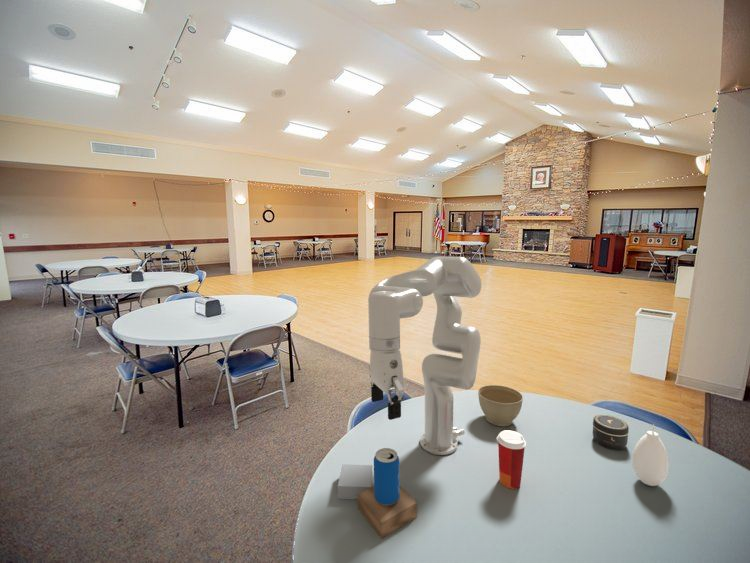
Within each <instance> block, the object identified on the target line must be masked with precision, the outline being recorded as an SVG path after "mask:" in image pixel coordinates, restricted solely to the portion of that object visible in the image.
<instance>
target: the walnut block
mask: <svg viewBox="0 0 750 563" xmlns="http://www.w3.org/2000/svg"><path fill="white" fill-rule="evenodd" d="M399 493H400V496H399V499H398V501H397V502H396V503H394V504H392V505H382V504H380V503H379V502H377V501H376V499H375V497H374V486H373V485H372V487H371V488H369V489H367V490H365V491H363V492H361V493H359V494H357V499H356V500H357V509H358V510H359V512H360V513H361V515H363V517H364V518H365V519H366V521H367V522H368V523H369V525H370V526H371V527H372V528H373V529H374V530H375V532H376V533H377V534H378V536H380V538H381V539H383V538H385V537H387V536H388V535H389V534H391V533H393V532H394V531H396V530H398V529H399V528H401V527H403V526H404V525H406V524H408V523H410V522H411V521H412V520H414V519H416V518H417V517H418V502H417V501H416V500H415V499H414V498H413V496H411V495H410V494H409V493H408V492H407V491H406V490H405V489H404V488H403V487H401V485H399Z"/></svg>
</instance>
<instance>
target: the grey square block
mask: <svg viewBox="0 0 750 563" xmlns="http://www.w3.org/2000/svg"><path fill="white" fill-rule="evenodd" d="M339 473H340V474H339V477H338V483H337V499H342V500H344V499H345V500H357V494H359V493H361V492H363V491H365V490H367V489H369V488H371V487H373V478H374V473H373V465H372V464H342V465H341V469H340V472H339Z"/></svg>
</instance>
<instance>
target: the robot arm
mask: <svg viewBox="0 0 750 563" xmlns="http://www.w3.org/2000/svg"><path fill="white" fill-rule="evenodd" d="M481 290H482V278H481V277H480V275H479V272H478V271H477V270H476V268H475V266H474V265H473V264H472V262H470V260H469V259H467V258H465V257H463V256H434V257H432V258H430V259H428V260H427V261H425V262H424V263H423V264H421V265H420V266H418V267H417V268H416V269H413V270H409V271H406V272H402V273H399V274H398V273H397V274H395V275H391V276H389V277H387V278H385V279H383V280H381V281H380V282H378V283H377V284H375V285H374V286H373V288H372V289H371V290H370V292H369V294H368V299H367V301H368V302H367V303H368V305H367V306H368V344H369V345H368V346H369V347H368V348H369V350H370V354H369V355H370V357H369V358H370V360H369V367H368V368H369V373H370V374H369V377H370V386H371V387H370V392H371V397H370V398H371V402H373V403H375V402H379V401H383V400H384V393H385V394H386V396H387V399H388V402H387V419H388V420H389V421H391V420H394V419H400V418H401V417H402V402H403V399H404V394H405V389H404V386H405V385H404V370H403V368H404V367H403V359H402V358H403V357H402V354H401V350H400V349H401V319H407V318H412V317H416V316H417V315H418V314H420V311H421V310H422V308H423V304H424V299H423V297H428V296H431V295H432V294H433V296H434V299H435V303H436V316H435V321H434V327H433V332H432V336H431V337H432V338H431V339H432V340H431V343H432V346H433V347H434V349H437V350H439V351H442V352H446V353H447V352H448V353H453V354H459V355H462V356H461V357H456V356H452V355H446V354H440V353H431V354H427V355H426V356H425V357H424V358H423V361H422V362H421V372H422V378H423V383H424V384H423V385H424V433H423V434H422V435H421V436H420V440H419V443H420V446H421V447H422V449H423V450H425V451H426V452H427V453H429V454H432V455H439V456H445V455H446V456H447V455H451V454H452V453H454V452H456V451H457V449H458V444H459V443H458V440H457V438H458V436H459V437H460V436H463V435H465V429H464V428H459V429H457V427H456V426H454V394H453V390H452V388H455V389H460V390H465V391H468V390H470V389H472V388H473V387H474V385H475V382H476V377H477V373H478V372H477V370H478V364H479V358H480V350H481V339H482V338H481V334H480V331H479V329H478V328H476V327H474V326H471V325H463V324H461V322H462V321H461V320H462V316H463V311H462V306H460V303H459V302H458V300H456V298H455V297H458V298H459V297H460V298H475V297H478V295H479V294H480V292H481ZM392 394H395V395H394V396H393V395H392Z"/></svg>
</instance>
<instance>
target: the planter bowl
mask: <svg viewBox="0 0 750 563" xmlns="http://www.w3.org/2000/svg"><path fill="white" fill-rule="evenodd" d="M477 394H478V402H479V406H480V409H481V410H482V413H483V414H484V416H485V419H486V421H487V422H488V423H491V425H494V426H498V427H509V426H511V425H512V424H513V421H514V420H515V419H516V418H517V417H518V415H519V414H520V412H521V409H522V405H523V401H524V396H523V394H522V393H521V391H518V390H517V389H514V388H512V387H509V386H505V385H498V384H491V385H489V384H488V385H484V386H481V387H480V388H479V389H478V390H477Z"/></svg>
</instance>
